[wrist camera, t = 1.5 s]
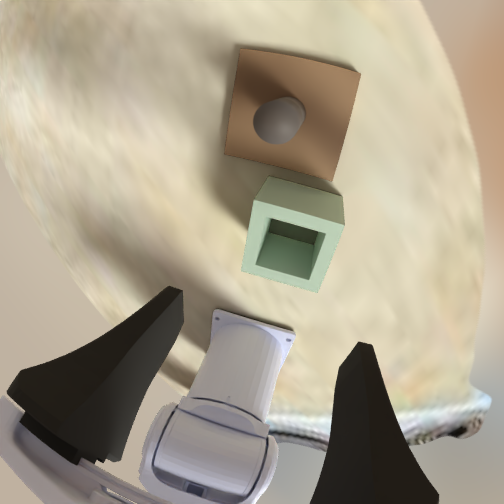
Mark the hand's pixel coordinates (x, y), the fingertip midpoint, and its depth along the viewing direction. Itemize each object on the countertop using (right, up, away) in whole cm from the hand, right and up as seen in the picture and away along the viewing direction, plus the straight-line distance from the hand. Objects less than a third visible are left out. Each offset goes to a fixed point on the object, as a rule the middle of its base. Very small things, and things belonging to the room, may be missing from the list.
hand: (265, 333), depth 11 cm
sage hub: (+2, +5, +9) cm, 10 cm away
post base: (+2, +12, +5) cm, 13 cm away
